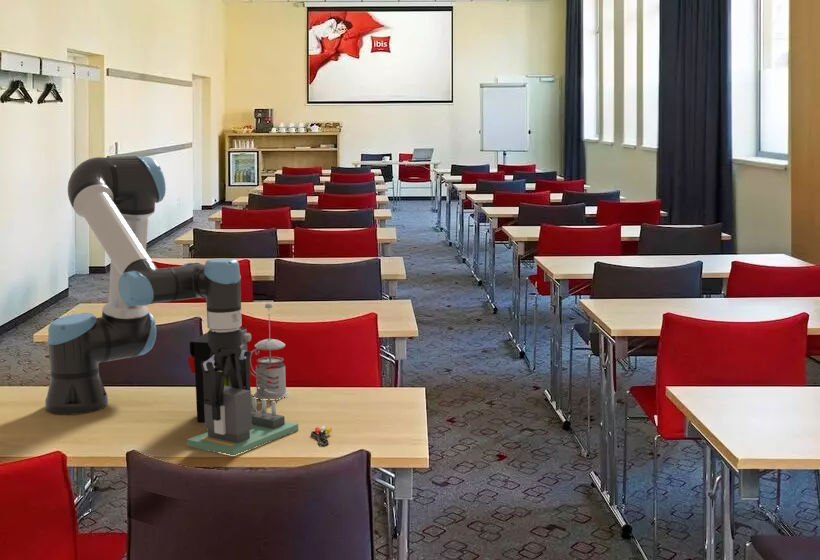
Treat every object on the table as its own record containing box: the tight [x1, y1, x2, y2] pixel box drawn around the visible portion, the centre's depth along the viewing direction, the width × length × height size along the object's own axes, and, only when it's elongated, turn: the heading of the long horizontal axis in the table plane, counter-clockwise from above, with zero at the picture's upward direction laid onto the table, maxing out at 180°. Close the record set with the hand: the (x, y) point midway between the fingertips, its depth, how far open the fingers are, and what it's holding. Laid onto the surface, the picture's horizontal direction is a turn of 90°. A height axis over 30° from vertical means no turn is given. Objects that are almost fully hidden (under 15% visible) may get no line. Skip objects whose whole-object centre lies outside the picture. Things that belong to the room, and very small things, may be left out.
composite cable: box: [310, 424, 333, 447], centre depth 218 cm, size 10×5×2 cm, turn 1°
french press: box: [249, 302, 290, 400], centre depth 252 cm, size 10×12×25 cm
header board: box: [186, 397, 299, 455], centre depth 219 cm, size 14×22×8 cm, turn 147°
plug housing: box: [204, 386, 252, 435], centre depth 214 cm, size 10×5×9 cm, turn 57°
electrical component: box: [186, 327, 254, 424], centre depth 237 cm, size 18×10×20 cm, turn 168°
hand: (229, 429), depth 214 cm, fingers closed on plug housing, 5 cm apart
